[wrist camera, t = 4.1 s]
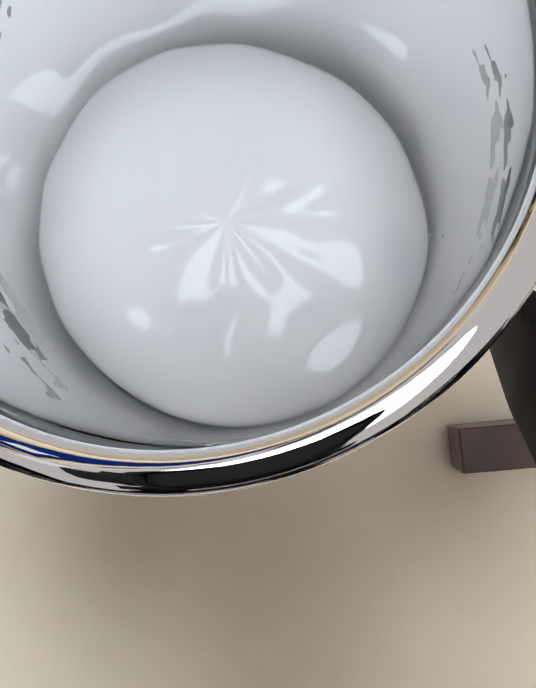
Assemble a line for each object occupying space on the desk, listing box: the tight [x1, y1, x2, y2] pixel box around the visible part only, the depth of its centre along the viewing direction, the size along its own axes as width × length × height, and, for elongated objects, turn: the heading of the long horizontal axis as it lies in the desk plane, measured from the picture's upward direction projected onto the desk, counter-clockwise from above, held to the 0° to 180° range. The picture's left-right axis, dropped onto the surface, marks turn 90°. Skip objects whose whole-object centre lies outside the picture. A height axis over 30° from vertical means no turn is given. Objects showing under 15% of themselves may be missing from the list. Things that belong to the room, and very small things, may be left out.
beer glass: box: [0, 0, 536, 497], centre depth 11 cm, size 7×7×15 cm
